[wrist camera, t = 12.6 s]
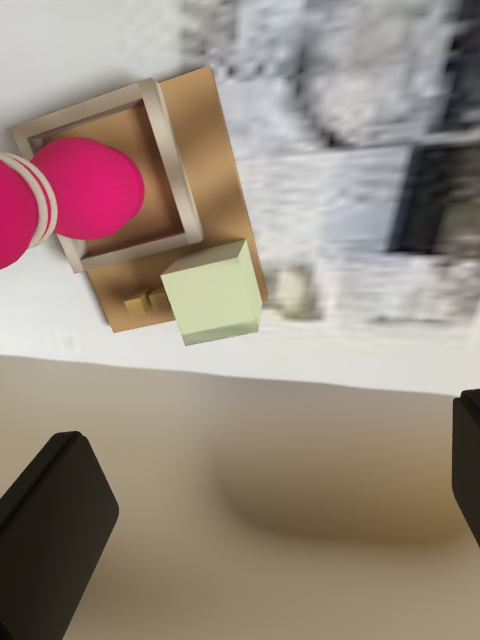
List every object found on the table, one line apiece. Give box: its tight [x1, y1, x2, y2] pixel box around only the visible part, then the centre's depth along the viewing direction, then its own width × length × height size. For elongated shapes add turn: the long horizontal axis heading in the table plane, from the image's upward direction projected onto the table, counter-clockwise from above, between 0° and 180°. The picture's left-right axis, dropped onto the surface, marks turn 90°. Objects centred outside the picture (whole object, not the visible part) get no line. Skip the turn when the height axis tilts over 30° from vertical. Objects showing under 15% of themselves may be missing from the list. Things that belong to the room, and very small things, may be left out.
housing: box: [160, 239, 262, 346], centre depth 31 cm, size 6×6×6 cm
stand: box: [9, 66, 268, 333], centre depth 31 cm, size 19×16×4 cm
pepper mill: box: [0, 137, 145, 270], centre depth 22 cm, size 7×7×20 cm
